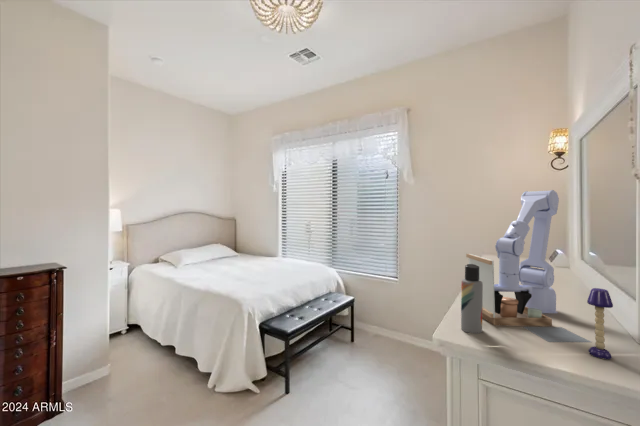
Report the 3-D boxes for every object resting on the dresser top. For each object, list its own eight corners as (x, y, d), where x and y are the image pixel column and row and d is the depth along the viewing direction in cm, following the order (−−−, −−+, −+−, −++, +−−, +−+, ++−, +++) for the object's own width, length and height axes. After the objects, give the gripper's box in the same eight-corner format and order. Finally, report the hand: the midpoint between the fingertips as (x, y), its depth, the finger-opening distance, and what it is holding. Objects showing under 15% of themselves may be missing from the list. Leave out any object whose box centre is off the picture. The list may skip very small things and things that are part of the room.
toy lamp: (581, 350, 74) (582, 286, 73) (597, 349, 74) (598, 286, 74) (601, 360, 69) (602, 292, 69) (618, 359, 69) (619, 291, 69)
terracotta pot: (510, 314, 98) (511, 297, 98) (522, 320, 93) (522, 302, 93) (495, 314, 98) (495, 296, 98) (505, 320, 93) (506, 302, 93)
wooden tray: (520, 311, 102) (520, 303, 102) (551, 326, 88) (552, 318, 88) (470, 310, 102) (470, 303, 102) (494, 326, 88) (494, 318, 88)
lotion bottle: (479, 328, 87) (480, 263, 87) (484, 335, 82) (484, 267, 82) (459, 325, 89) (460, 262, 89) (462, 332, 84) (463, 265, 83)
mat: (560, 328, 87) (560, 327, 87) (592, 343, 77) (592, 342, 77) (522, 328, 87) (522, 326, 87) (548, 343, 77) (548, 341, 77)
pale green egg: (535, 319, 93) (535, 307, 93) (544, 324, 90) (544, 311, 90) (524, 319, 93) (525, 307, 93) (533, 324, 90) (533, 311, 89)
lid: (469, 253, 102) (466, 253, 102) (493, 260, 88) (489, 260, 88) (470, 302, 102) (467, 303, 102) (494, 317, 88) (490, 317, 88)
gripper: (521, 270, 99) (521, 308, 99) (480, 270, 99) (480, 308, 99) (537, 275, 92) (536, 316, 92) (493, 274, 92) (492, 316, 92)
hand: (508, 312), depth 95 cm, fingers open, 7 cm apart
